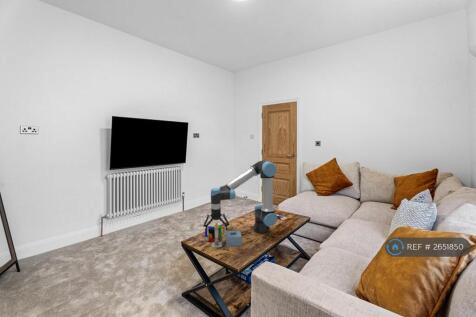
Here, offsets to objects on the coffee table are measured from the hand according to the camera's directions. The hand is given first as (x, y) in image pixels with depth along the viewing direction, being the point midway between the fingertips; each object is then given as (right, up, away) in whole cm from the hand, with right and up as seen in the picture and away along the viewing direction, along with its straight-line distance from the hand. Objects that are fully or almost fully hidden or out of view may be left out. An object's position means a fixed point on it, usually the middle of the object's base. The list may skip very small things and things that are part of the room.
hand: (216, 234), depth 174 cm
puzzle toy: (-4, -8, +11) cm, 14 cm away
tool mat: (0, -9, +1) cm, 9 cm away
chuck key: (0, -8, +1) cm, 8 cm away
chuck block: (+12, -8, +4) cm, 15 cm away
